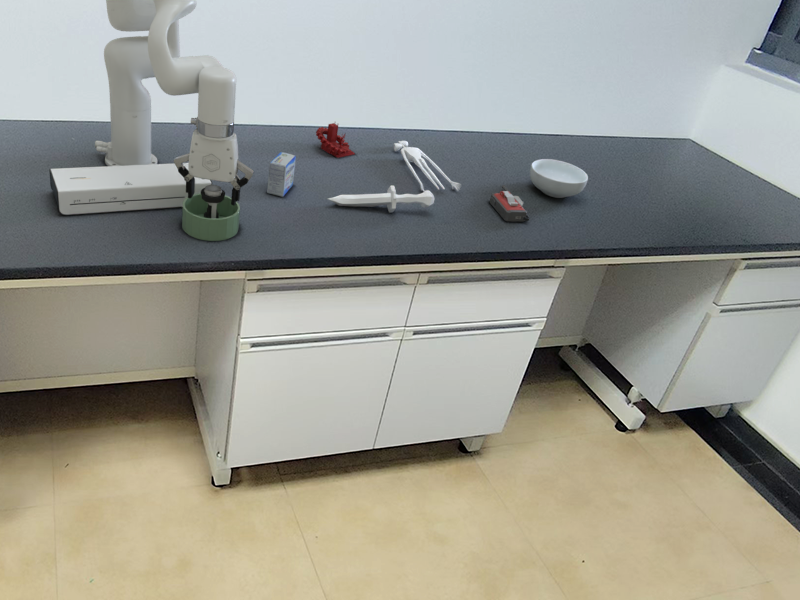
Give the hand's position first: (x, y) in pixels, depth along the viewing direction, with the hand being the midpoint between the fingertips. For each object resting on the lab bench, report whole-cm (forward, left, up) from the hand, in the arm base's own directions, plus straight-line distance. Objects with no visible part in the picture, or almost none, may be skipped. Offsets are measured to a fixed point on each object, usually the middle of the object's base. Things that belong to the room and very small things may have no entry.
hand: (212, 199), depth 173 cm
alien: (+48, +53, -7) cm, 72 cm away
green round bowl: (0, 0, -7) cm, 7 cm away
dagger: (+38, +23, -7) cm, 45 cm away
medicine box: (+12, +25, -7) cm, 29 cm away
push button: (0, 0, -7) cm, 7 cm away
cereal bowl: (+89, +55, -8) cm, 105 cm away
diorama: (+23, +56, -7) cm, 61 cm away
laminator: (-20, +7, -7) cm, 23 cm away
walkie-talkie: (+73, +39, -7) cm, 83 cm away
